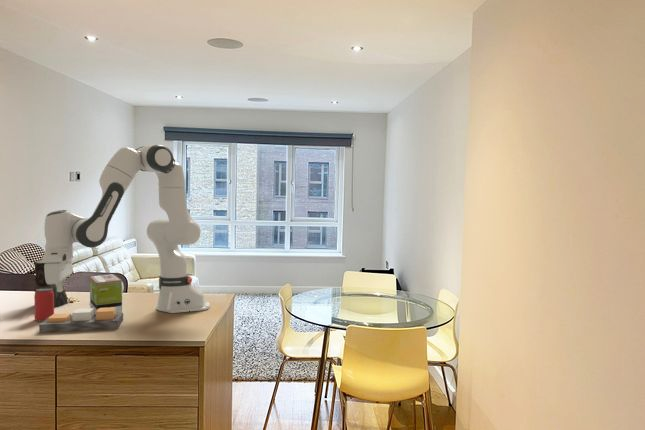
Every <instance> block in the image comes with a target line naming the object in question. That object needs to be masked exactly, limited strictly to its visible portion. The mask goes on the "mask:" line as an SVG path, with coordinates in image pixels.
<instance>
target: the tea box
mask: <svg viewBox="0 0 645 430" xmlns="http://www.w3.org/2000/svg"><path fill="white" fill-rule="evenodd" d="M110 274H111V275H108V274H102V275H95V276H94V275H93V276H92V275H91V276H89V303H90V304H89V306H90V308H94V314H96V311H97V310H98V309H99V308H109V307H116V313H123V293H122V283H123V281H122V279H121V278H119V277H118V276H116V275H115V274H113V273H110Z"/></svg>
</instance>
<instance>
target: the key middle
mask: <svg viewBox="0 0 645 430" xmlns="http://www.w3.org/2000/svg"><path fill="white" fill-rule="evenodd" d="M71 315H72V321H88V320H92V319H93V317H94V308H86V307H85V308H76V309H75V310H73V312H72V313H71Z"/></svg>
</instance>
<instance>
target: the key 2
mask: <svg viewBox="0 0 645 430" xmlns="http://www.w3.org/2000/svg"><path fill="white" fill-rule="evenodd" d="M115 317H116V307H109V308H99V309H98V310H97V311H96V320H109V319H115Z"/></svg>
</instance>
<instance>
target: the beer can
mask: <svg viewBox="0 0 645 430" xmlns="http://www.w3.org/2000/svg"><path fill="white" fill-rule="evenodd" d="M33 296H34V319H35V321H36V322H37V321H38V322H43V321H44V320H46V319H47V318H48V317H49V316H52V315H53V314H55V308H54V293H53V290H52V288H40V289H37V290H36V292H35V291H34V295H33Z"/></svg>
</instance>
